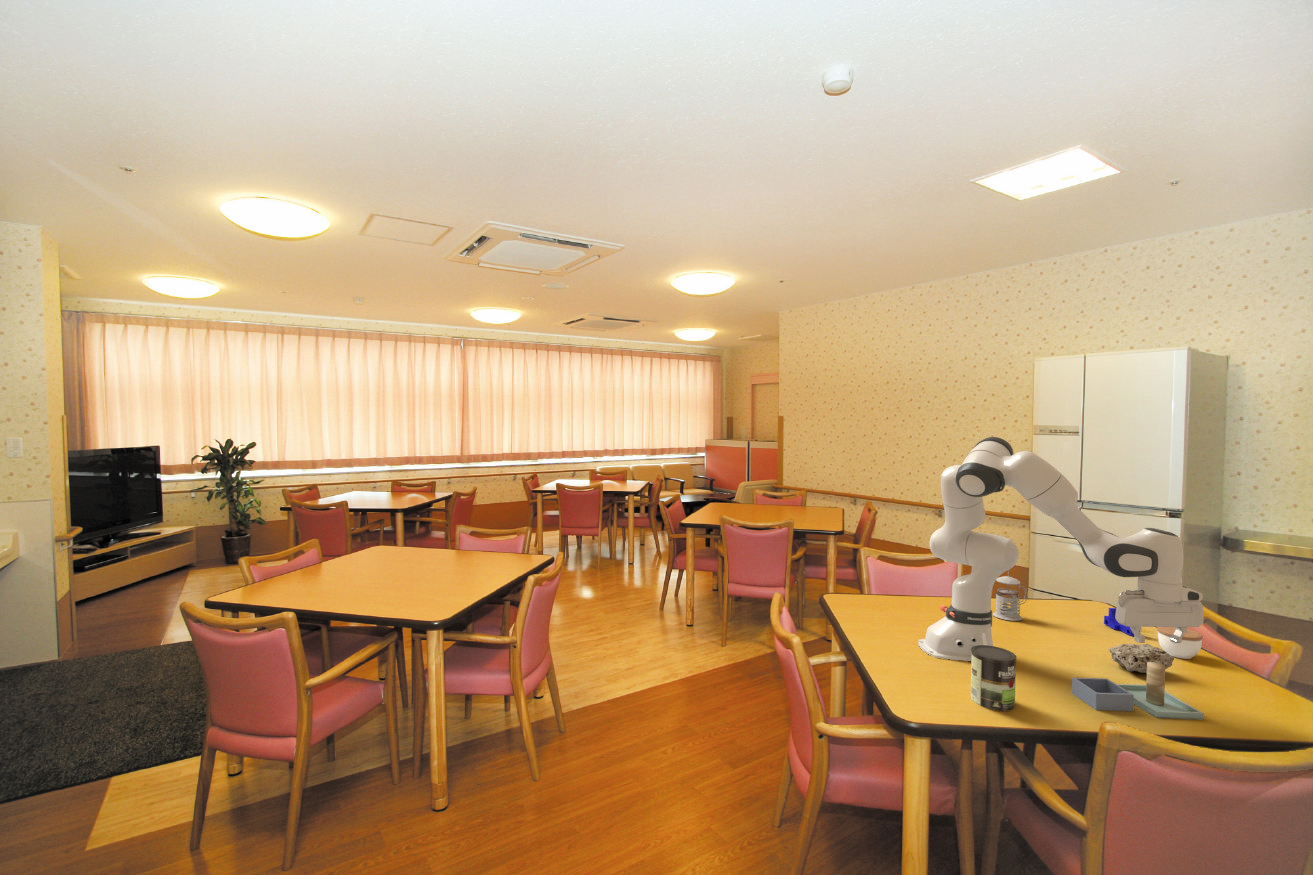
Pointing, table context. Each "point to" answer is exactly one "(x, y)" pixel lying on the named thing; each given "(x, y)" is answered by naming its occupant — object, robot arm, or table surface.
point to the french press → (1008, 600)
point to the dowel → (1155, 683)
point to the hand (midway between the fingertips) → (1157, 642)
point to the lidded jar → (1180, 650)
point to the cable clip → (1114, 624)
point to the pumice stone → (1139, 656)
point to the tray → (1168, 710)
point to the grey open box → (1102, 694)
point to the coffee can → (993, 677)
